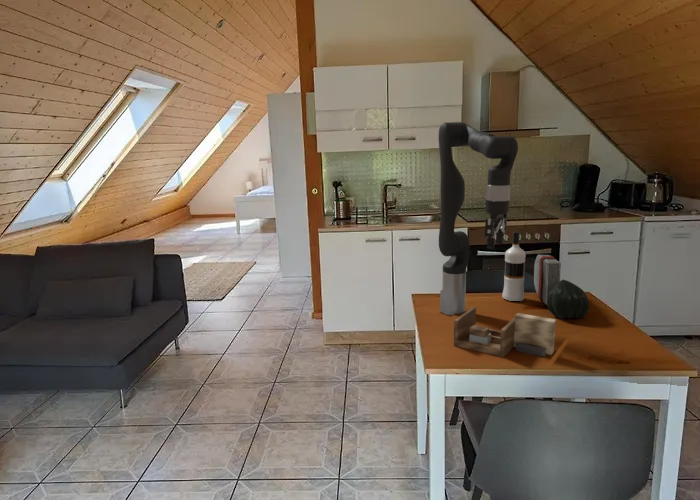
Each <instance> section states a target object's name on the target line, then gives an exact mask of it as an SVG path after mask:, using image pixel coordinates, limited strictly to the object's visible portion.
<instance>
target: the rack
mask: <svg viewBox="0 0 700 500" xmlns="http://www.w3.org/2000/svg"><path fill="white" fill-rule="evenodd" d="M476 319H477V307H476V306H472V307H471V308H469V309H468V310H465V312H463V313H461V315H459V316H458V317H457V318H455V319H454V320H453V347H458V348H463V349H467V350H471V351H475V352H479V353H482V354H488V355H493V356H495V357H496V356H497V357H501V358H505V356H506V355H508V353H509V352H510V351H511V350H512V349H513V348H515V347H514V328H515V316H514V317H513V318H512V319H511V320H510V321H509V322H508V323H507V324H505V326H504V327H502V328H501V330H498V329H492V328H489V334H491V341H490V347H489V346H485V345H481V344H476V343H472V342H469V337H470V328H471V327H472V326H474V325H477V324H476V322H477V321H476Z"/></svg>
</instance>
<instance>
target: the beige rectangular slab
mask: <svg viewBox="0 0 700 500" xmlns="http://www.w3.org/2000/svg"><path fill="white" fill-rule="evenodd" d="M514 317H515V328H514V347H513V348H516V343H517V342H522V343H526V344H531V345H536V346H541V347H545V348H546V355H549V356H552V355H553V353H554V352H555V339H556V325H557V319H555V318H549V317H544V316H538V315H532V314H526V313H522V312H517V313H516V314H514Z"/></svg>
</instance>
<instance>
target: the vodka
mask: <svg viewBox="0 0 700 500" xmlns="http://www.w3.org/2000/svg"><path fill="white" fill-rule="evenodd" d="M512 235H513V236H512V246H511V247H510V248H508V249H507V250H506V251H505V253H504V262H505V263H504V276H503V279H504V281H503V282H504V284H503V290H502V294H501V295H502V296H501V297H502V299H503V298H504V299H506V300H509V301H508V302H510V301H520V302H523V301H524V299H525V297H526V296H525V290H524V285H525V264H526V263H525V262H526V255H527V253H526V252H525V250H524V249H522V248H521V247H520V232H519V231H513V232H512ZM504 299H503V300H504ZM506 300H505V301H506Z"/></svg>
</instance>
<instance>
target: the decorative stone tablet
mask: <svg viewBox="0 0 700 500" xmlns="http://www.w3.org/2000/svg"><path fill="white" fill-rule="evenodd" d="M561 265H562V264H561V262H560V261H558V259H557V258H556V257H554V256H553V255H550V254H537V256H536V259H535V261H534V267H533V268H534V269H533V273H534V274H533V282H534V283H533V284H534V289H535V291H536V295H537V298H538V299H539V300H540V302H541V301H544V302H543V303H544V304H545V305H547V297H548V294H549V293H550V291H551V290H552V289H553V288H554V287H555V286H556V285H557V284H558V283H559V282H560V281H561V269H562V268H561Z"/></svg>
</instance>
